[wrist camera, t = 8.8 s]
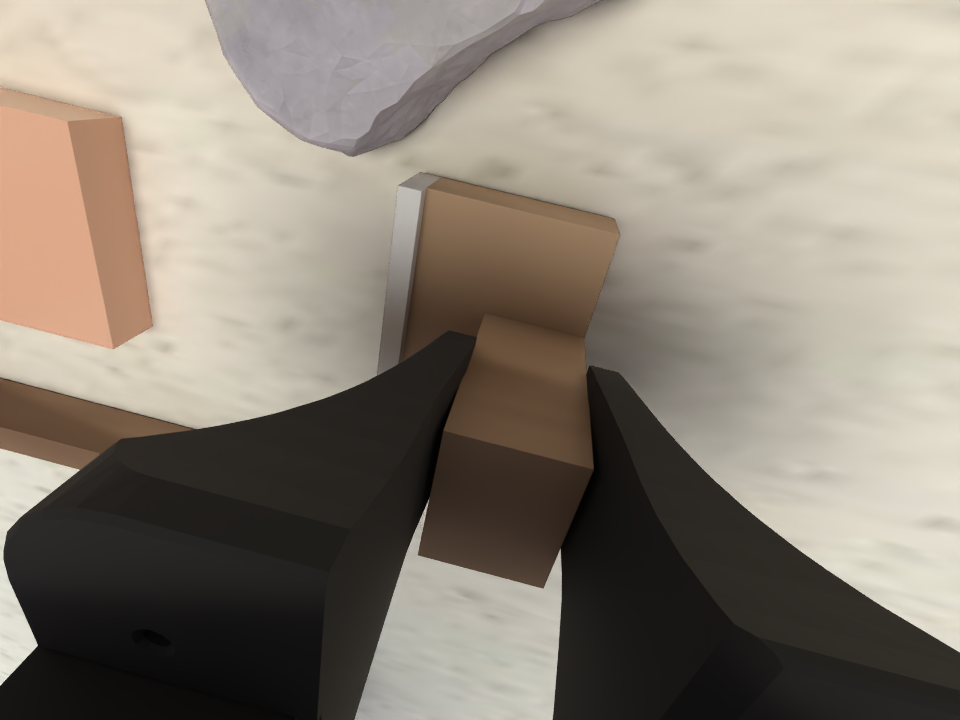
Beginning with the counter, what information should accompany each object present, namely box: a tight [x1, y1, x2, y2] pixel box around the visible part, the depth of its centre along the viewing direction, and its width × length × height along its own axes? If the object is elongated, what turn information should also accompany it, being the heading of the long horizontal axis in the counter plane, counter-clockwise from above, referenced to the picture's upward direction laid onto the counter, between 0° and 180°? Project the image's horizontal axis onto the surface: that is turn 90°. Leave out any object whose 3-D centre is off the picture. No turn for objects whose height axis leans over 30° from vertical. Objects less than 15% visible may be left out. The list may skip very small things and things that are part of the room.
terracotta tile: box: [0, 88, 153, 349], centre depth 14 cm, size 6×6×2 cm
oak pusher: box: [377, 172, 620, 588], centre depth 11 cm, size 8×5×6 cm, turn 168°
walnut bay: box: [0, 378, 194, 470], centre depth 13 cm, size 16×10×2 cm, turn 168°
